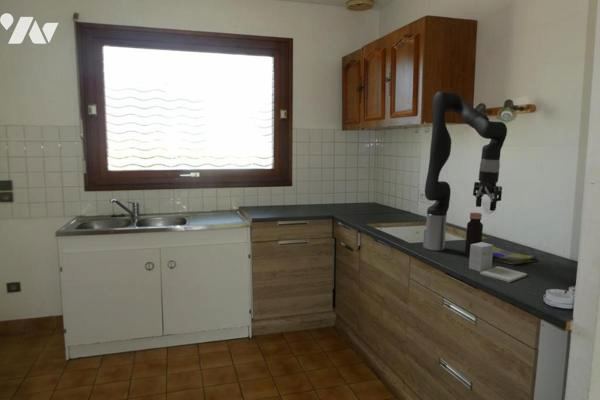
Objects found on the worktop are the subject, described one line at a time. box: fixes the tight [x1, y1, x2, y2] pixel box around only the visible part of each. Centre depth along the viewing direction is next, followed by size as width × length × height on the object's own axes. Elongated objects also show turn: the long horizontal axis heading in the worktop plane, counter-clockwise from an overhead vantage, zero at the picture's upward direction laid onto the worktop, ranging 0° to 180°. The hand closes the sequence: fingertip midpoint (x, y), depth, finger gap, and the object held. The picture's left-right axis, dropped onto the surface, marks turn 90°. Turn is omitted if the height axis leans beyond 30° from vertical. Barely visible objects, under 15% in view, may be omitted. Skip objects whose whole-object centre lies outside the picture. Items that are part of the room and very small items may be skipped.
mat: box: [479, 265, 528, 283], centre depth 172 cm, size 12×14×1 cm
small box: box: [468, 241, 494, 273], centre depth 180 cm, size 8×6×10 cm
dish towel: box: [492, 245, 538, 266], centre depth 200 cm, size 18×24×3 cm
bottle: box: [464, 212, 484, 258], centre depth 199 cm, size 7×7×20 cm
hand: (485, 208), depth 181 cm, fingers open, 8 cm apart
